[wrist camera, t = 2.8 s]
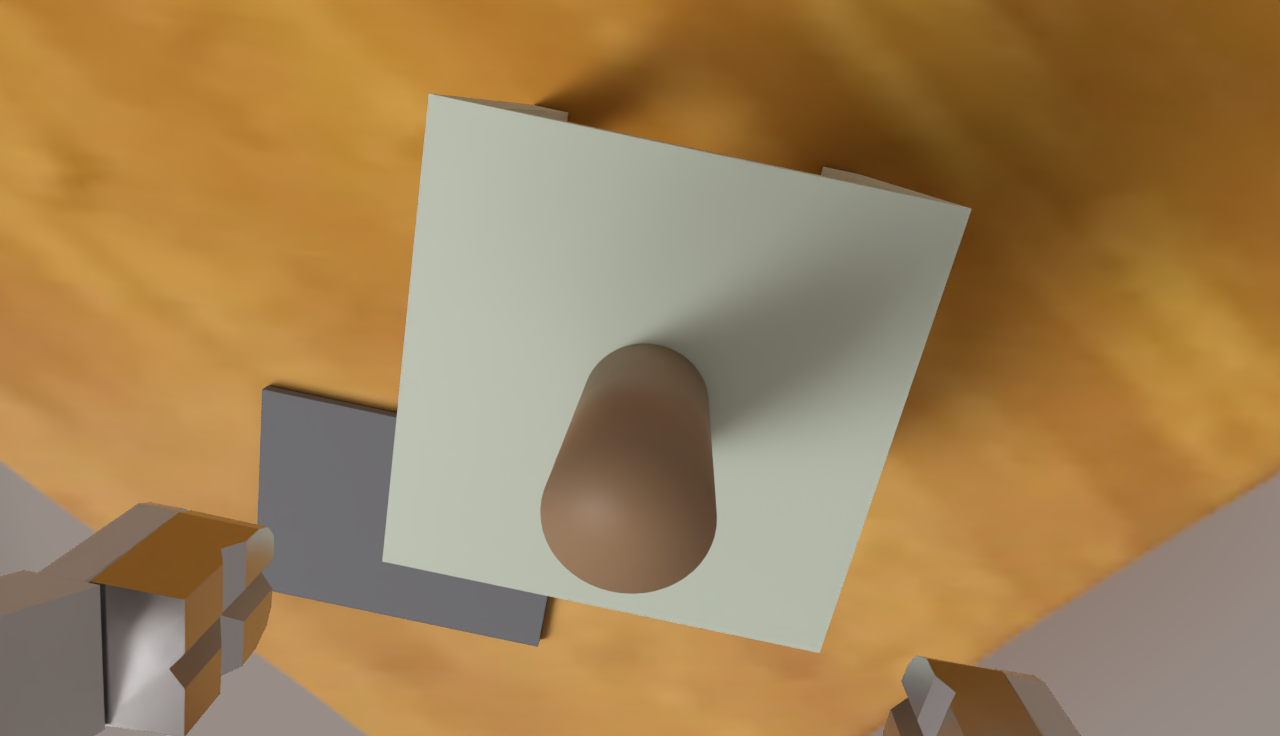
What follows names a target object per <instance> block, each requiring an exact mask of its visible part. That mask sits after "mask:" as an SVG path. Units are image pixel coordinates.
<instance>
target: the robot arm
mask: <svg viewBox="0 0 1280 736" xmlns="http://www.w3.org/2000/svg"><path fill="white" fill-rule="evenodd" d="M273 559H274V534H273V533H272V532H271V530H270V529H269V528H268V527H265V526H261V525H256V524H251V523H247V522H242V521H238V520H233V519H229V518H224V517H220V516H215V515H210V514H206V513H201V512H197V511H192V510H190V511H188V510H186V509H183V508H178V507H173V506H167V505H162V504H157V503H152V502H149V503H139V504H137V505H136V506H134V507H133V508H131V509H130V510H128V511H127V512H125V513H124V514H123V515H121V516H120V517H118V518H117V519H115V520H114V521H112V522H111V523H109V524H108V525H107V526H105V527H104V528H102V529H101V530H99V531H98V532H96V533H95V534H94V535H92V536H91V537H89V538H88V539H86V540H85V541H83V542H82V543H81V544H79V545H78V546H76V547H75V548H73V549H72V550H70V551H69V552H68V553H66V554H65V555H63V556H62V557H60V558H59V559H57V560H56V561H54V562H53V563H51V564H50V565H49V566H47V567H46V568H44V569H43V570H41V571H40V572H39V573H35V572H31V571H25V570H23V571H19V572H16V573H12V574H8V575H4V576H1V577H0V736H94V735H96V734H98V733H99V732H101V731H103V730H104V729H105V725H107V726H114V727H120V728H126V729H132V730H138V731H145V732H151V733H158V734H164V735H171V736H186V735H187V734H188V732H189V731H190V730H191V729H192V727H193V726H194V725H195V724H196V723H197V721H198V720H199V719H200V717H201V716H202V715H203V714H204V713H205V711H206V710H207V709H208V708H209V706H210V705H211V704H212V703H213V702H214V700H215V699H216V698H217V697H218V695H219V694H220V682H221V676H222V675H224V674H226V673H228V672H230V671H233V670H235V669H237V668H239V667H241V666H243V664H244V663H245V662H246V660H247V659H248V658H249V657H250V655H251V654H252V653H253V651H254V650H255V649H256V647H257V645H258V643H259V640H260V638H261V636H262V634H263V632H264V630H265V628H266V626H267V622H268V617H269V613H270V609H271V602H272V588H271V586H270V585H269V583H268V582H267V580H266V578H265V577H264V575H263V574H262V571H263V570H264V568H265V567H266V566H267V565H268V564H269V563H270V562H271V561H272V560H273ZM902 684H903V686H904V689H905V691H906V694H907V696H908V698H907V699H905V700H904V701H902V702H901V703H899V704H898V705H897V706H895V707H894V708H892V709H891V710H890V713H889V716H888V719H887V722H886V725H885V728H884V731H883V736H1081V735H1080V734H1079V732H1078V731H1077V729H1076V728H1075V726H1074V725H1073V724H1072V722H1071V720H1070V719H1069V717H1068V716H1067V715H1066V713H1065V712H1064V710H1063V709H1062V707H1061V706H1060V704H1059V703H1058V701H1057V700H1056V698H1055V697H1054V695H1053V694H1052V692H1051V691H1050V689H1049V688H1048V687H1047V685H1046V684H1045V683H1044V682H1043V681H1042V680H1040V679H1039V678H1037V677H1036V676H1034V675H1029V674H1022V673H1016V672H1010V671H1004V670H997V669H994V670H991V669H987V668H981V667H976V666H970V665H965V664H959V663H954V662H948V661H943V660H937V659H932V658H927V657H921V656H915V657H914V658H913V660H912V661H911V662H910V663H909V664H908V666H907V669H906V671H905V674H904V676H903V679H902Z"/></svg>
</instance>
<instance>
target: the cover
mask: <svg viewBox="0 0 1280 736" xmlns="http://www.w3.org/2000/svg"><path fill="white" fill-rule="evenodd" d="M568 113H569V112H564V111H559V110H554V109H550V108H545V107H540V106H536V105H529V104H520V103H511V102H501V101H492V100H483V99H474V98H465V97H456V96H446V95H437V94H429V98H428V108H427V118H426V128H425V138H424V148H423V158H422V168H421V178H420V188H419V198H418V208H417V218H416V228H415V238H414V248H413V258H412V268H411V278H410V288H409V298H408V308H407V319H406V329H405V339H404V349H403V359H402V369H401V379H400V389H399V399H398V409H397V419H396V429H395V439H394V449H393V459H392V469H391V479H390V489H389V499H388V509H387V519H386V529H385V539H384V549H383V559H382V561H383V562H387V563H392V564H397V565H402V566H406V567H411V568H416V569H421V570H426V571H430V572H435V573H440V574H445V575H449V576H454V577H459V578H464V579H469V580H473V581H478V582H483V583H488V584H492V585H497V586H502V587H507V588H511V589H516V590H521V591H526V592H531V593H535V594H540V595H545V596H550V597H554V598H559V599H564V600H569V601H574V602H578V603H583V604H588V605H593V606H597V607H602V608H607V609H612V610H617V611H621V612H626V613H631V614H636V615H640V616H645V617H650V618H655V619H660V620H664V621H669V622H674V623H679V624H683V625H688V626H693V627H698V628H702V629H707V630H712V631H717V632H722V633H726V634H731V635H736V636H741V637H745V638H750V639H755V640H760V641H765V642H769V643H774V644H779V645H784V646H788V647H793V648H798V649H803V650H808V651H812V652H817V653H820V650H821V647H822V644H823V641H824V638H825V635H826V633H827V630H828V627H829V624H830V621H831V618H832V615H833V612H834V609H835V606H836V603H837V600H838V598H839V595H840V592H841V589H842V586H843V583H844V580H845V577H846V574H847V571H848V568H849V565H850V563H851V560H852V557H853V554H854V551H855V548H856V545H857V542H858V539H859V536H860V533H861V530H862V528H863V525H864V522H865V519H866V516H867V513H868V510H869V507H870V504H871V501H872V498H873V495H874V493H875V490H876V487H877V484H878V481H879V478H880V475H881V472H882V469H883V466H884V463H885V460H886V457H887V455H888V452H889V449H890V446H891V443H892V440H893V437H894V434H895V431H896V428H897V425H898V422H899V420H900V417H901V414H902V411H903V408H904V405H905V402H906V399H907V396H908V393H909V390H910V387H911V385H912V382H913V379H914V376H915V373H916V370H917V367H918V364H919V361H920V358H921V355H922V352H923V350H924V347H925V344H926V341H927V338H928V335H929V332H930V329H931V326H932V323H933V320H934V317H935V315H936V312H937V309H938V306H939V303H940V300H941V297H942V294H943V291H944V288H945V285H946V282H947V279H948V277H949V274H950V271H951V268H952V265H953V262H954V259H955V256H956V253H957V250H958V247H959V244H960V242H961V239H962V236H963V233H964V230H965V227H966V224H967V221H968V218H969V215H970V212H971V208H968V207H965V206H961V205H958V204H955V203H952V202H948V201H945V200H942V199H938V198H935V197H932V196H929V195H925V194H922V193H919V192H916V191H912V190H909V189H906V188H903V187H899V186H896V185H893V184H890V183H886V182H883V181H880V180H877V179H873V178H870V177H867V176H863V175H860V174H856V173H851V172H847V171H842V170H837V169H833V168H828V167H823V169H822V173H821V175H817V174H812V173H807V172H803V171H798V170H793V169H788V168H784V167H779V166H774V165H770V164H765V163H760V162H755V161H751V160H746V159H741V158H737V157H732V156H727V155H722V154H718V153H713V152H708V151H703V150H699V149H694V148H689V147H685V146H680V145H675V144H670V143H666V142H661V141H656V140H652V139H647V138H642V137H637V136H633V135H628V134H623V133H619V132H614V131H609V130H604V129H600V128H595V127H590V126H586V125H581V124H576V123H571V122H567V119H568Z"/></svg>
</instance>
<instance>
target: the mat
mask: <svg viewBox="0 0 1280 736" xmlns="http://www.w3.org/2000/svg"><path fill="white" fill-rule="evenodd" d="M396 419H397V413H395V412H390V411H386V410H381V409H376V408H371V407H367V406H362V405H357V404H352V403H348V402H343V401H338V400H333V399H329V398H324V397H319V396H314V395H310V394H305V393H300V392H295V391H290V390H286V389H281V388H276V387H271V386H267V387H265V388H264V389H262V412H261V441H260V470H259V499H258V525H261V526H265V527H268V528H269V529H270V530H271V532H272V533H273V534H274V559H273V560H272V561H271V562H270V563H269V564H268V565H267V566H266V567H265V568H264V570H263V571H262V574H263V575H264V577H265V578H266V580H267V582H268V583H269V585H270V586H271V588H272V591H274V592H278V593H283V594H288V595H293V596H297V597H302V598H307V599H312V600H317V601H321V602H326V603H331V604H336V605H341V606H345V607H350V608H355V609H360V610H364V611H369V612H374V613H379V614H384V615H388V616H393V617H398V618H403V619H407V620H412V621H417V622H422V623H427V624H431V625H436V626H441V627H446V628H451V629H455V630H460V631H465V632H470V633H474V634H479V635H484V636H489V637H494V638H498V639H503V640H508V641H513V642H517V643H522V644H527V645H532V646H537V647H538V644H539V641H540V636H541V631H542V625H543V620H544V615H545V609H546V604H547V599H548V596H545V595H540V594H535V593H531V592H526V591H521V590H516V589H511V588H507V587H502V586H497V585H492V584H488V583H483V582H478V581H473V580H469V579H464V578H459V577H454V576H449V575H445V574H440V573H435V572H430V571H426V570H421V569H416V568H411V567H406V566H402V565H397V564H392V563H387V562H383V561H382V559H383V549H384V539H385V529H386V519H387V509H388V499H389V489H390V479H391V469H392V459H393V449H394V439H395V429H396Z"/></svg>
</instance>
